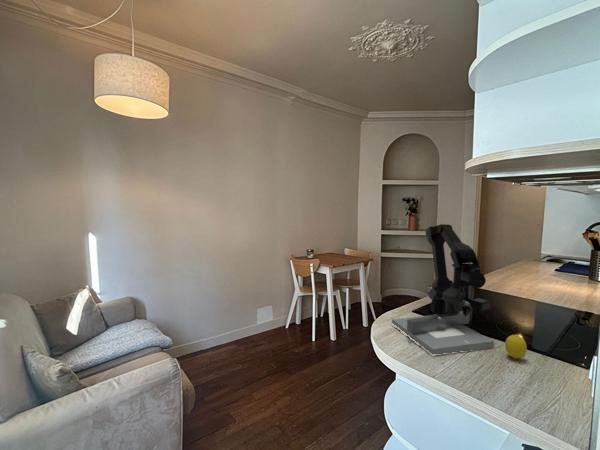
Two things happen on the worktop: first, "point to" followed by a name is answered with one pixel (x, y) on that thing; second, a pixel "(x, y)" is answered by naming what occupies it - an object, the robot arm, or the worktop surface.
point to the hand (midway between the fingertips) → (459, 320)
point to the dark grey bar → (437, 322)
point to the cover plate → (447, 338)
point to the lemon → (516, 346)
